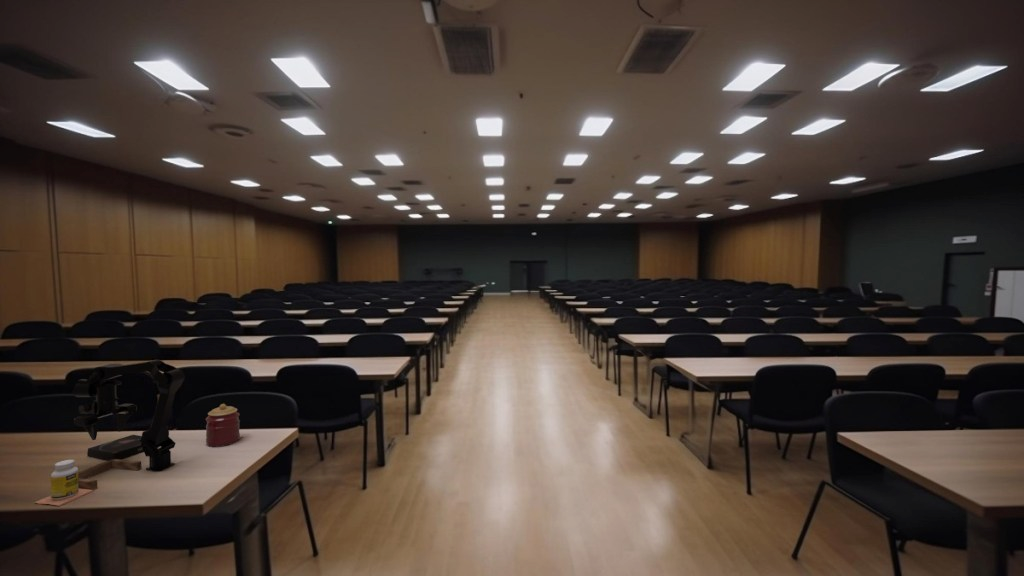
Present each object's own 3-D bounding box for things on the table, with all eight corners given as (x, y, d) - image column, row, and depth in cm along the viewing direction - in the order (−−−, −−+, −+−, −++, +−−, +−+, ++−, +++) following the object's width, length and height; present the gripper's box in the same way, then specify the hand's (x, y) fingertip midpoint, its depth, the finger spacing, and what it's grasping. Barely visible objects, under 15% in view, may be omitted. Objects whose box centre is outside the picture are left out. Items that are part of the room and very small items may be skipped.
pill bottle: (60, 501, 142) (60, 467, 142) (45, 499, 143) (45, 465, 143) (83, 492, 148) (83, 459, 148) (69, 490, 149) (68, 457, 149)
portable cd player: (132, 443, 194) (132, 434, 193) (158, 448, 188) (158, 439, 188) (87, 457, 178) (87, 448, 178) (114, 463, 173) (113, 453, 173)
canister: (246, 437, 201) (246, 400, 200) (225, 448, 188) (225, 409, 187) (221, 435, 202) (220, 399, 201) (198, 446, 189) (198, 407, 188)
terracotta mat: (93, 491, 150) (93, 490, 150) (59, 506, 140) (59, 505, 140) (70, 488, 151) (70, 487, 151) (34, 503, 141) (34, 502, 141)
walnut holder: (141, 468, 167) (141, 461, 167) (92, 490, 150) (92, 482, 150) (112, 466, 169) (112, 458, 169) (61, 487, 152) (61, 478, 152)
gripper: (114, 389, 177) (115, 425, 178) (61, 402, 159) (62, 443, 159) (137, 390, 176) (137, 427, 176) (85, 404, 157) (86, 445, 158)
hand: (107, 435), depth 167 cm, fingers open, 9 cm apart
